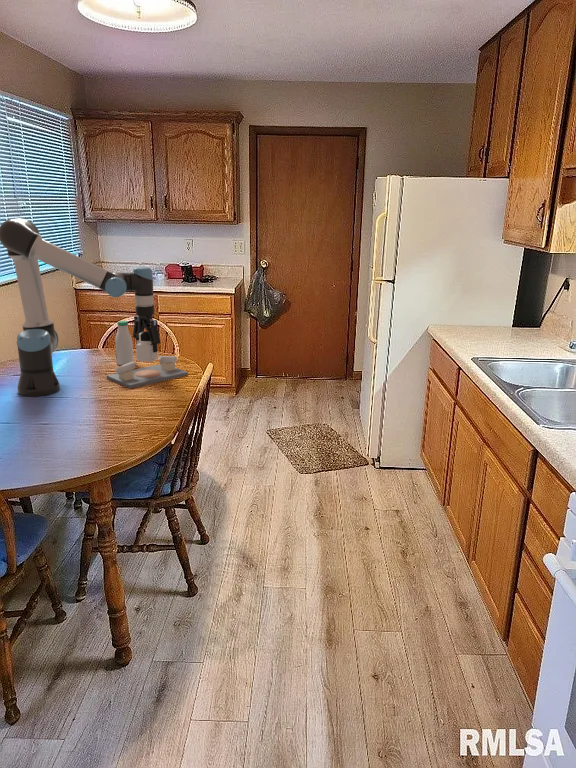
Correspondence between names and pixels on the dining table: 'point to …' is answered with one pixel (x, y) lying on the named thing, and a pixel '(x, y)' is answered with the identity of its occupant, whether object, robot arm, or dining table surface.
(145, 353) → the medicine bottle
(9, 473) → the dining table surface
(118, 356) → the milk bottle
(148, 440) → the dining table surface
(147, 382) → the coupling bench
